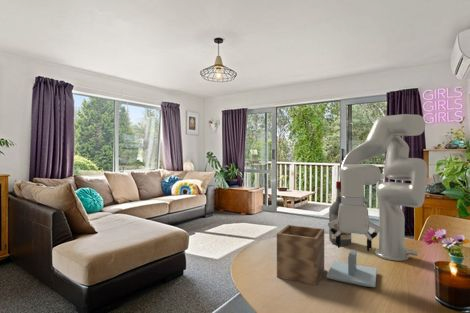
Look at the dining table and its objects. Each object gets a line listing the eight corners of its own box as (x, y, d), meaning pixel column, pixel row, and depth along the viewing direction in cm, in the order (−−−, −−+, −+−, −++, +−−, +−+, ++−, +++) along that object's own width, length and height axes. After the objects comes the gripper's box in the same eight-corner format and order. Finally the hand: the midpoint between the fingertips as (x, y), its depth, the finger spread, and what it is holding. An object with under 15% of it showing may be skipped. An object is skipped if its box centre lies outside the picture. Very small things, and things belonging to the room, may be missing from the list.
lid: (376, 274, 104) (376, 250, 104) (375, 291, 91) (375, 264, 91) (333, 266, 111) (334, 244, 111) (326, 281, 98) (326, 256, 98)
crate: (324, 269, 108) (324, 229, 107) (316, 285, 95) (316, 239, 95) (288, 263, 114) (288, 224, 114) (276, 276, 102) (276, 233, 101)
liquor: (328, 239, 145) (328, 180, 145) (346, 240, 144) (346, 180, 144) (332, 245, 136) (332, 182, 136) (352, 245, 135) (352, 182, 135)
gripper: (380, 200, 100) (380, 248, 101) (329, 197, 108) (330, 242, 109) (379, 204, 94) (380, 255, 94) (325, 201, 102) (326, 248, 102)
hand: (353, 248), depth 102 cm, fingers open, 9 cm apart
